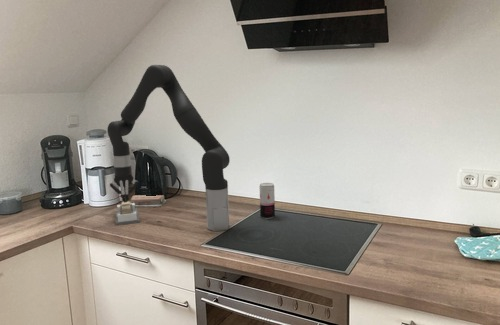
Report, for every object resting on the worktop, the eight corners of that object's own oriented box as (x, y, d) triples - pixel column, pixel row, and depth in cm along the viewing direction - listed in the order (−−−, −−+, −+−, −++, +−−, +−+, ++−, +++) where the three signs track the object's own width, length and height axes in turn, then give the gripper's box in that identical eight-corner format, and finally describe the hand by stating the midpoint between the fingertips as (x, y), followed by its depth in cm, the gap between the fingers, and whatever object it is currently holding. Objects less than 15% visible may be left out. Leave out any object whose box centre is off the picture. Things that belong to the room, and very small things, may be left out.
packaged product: (165, 193, 209) (160, 198, 199) (166, 202, 210) (161, 207, 200) (132, 193, 210) (125, 198, 201) (133, 202, 211) (126, 208, 201)
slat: (131, 219, 178) (130, 208, 178) (123, 220, 177) (122, 209, 176) (130, 210, 191) (129, 200, 191) (122, 211, 190) (121, 201, 189)
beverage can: (275, 214, 183) (274, 182, 180) (274, 219, 176) (273, 186, 173) (261, 214, 183) (260, 182, 181) (259, 219, 177) (258, 186, 174)
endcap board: (139, 222, 177) (138, 213, 177) (115, 225, 174) (115, 216, 174) (137, 210, 195) (136, 202, 194) (115, 212, 192) (115, 204, 191)
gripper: (106, 167, 175) (110, 205, 178) (138, 165, 179) (141, 202, 182) (107, 164, 182) (110, 201, 185) (137, 162, 186) (140, 198, 189)
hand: (125, 201), depth 183 cm, fingers closed
